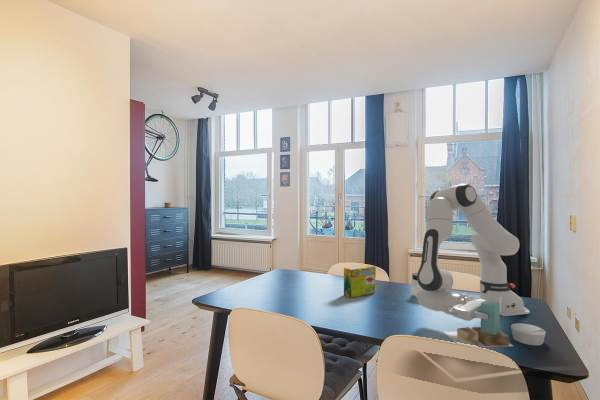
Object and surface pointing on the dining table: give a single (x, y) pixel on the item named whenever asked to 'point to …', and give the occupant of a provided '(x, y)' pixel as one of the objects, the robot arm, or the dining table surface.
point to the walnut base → (492, 338)
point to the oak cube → (467, 336)
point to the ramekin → (528, 334)
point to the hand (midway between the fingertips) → (492, 313)
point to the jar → (415, 285)
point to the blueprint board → (454, 337)
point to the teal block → (490, 317)
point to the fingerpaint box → (359, 280)
